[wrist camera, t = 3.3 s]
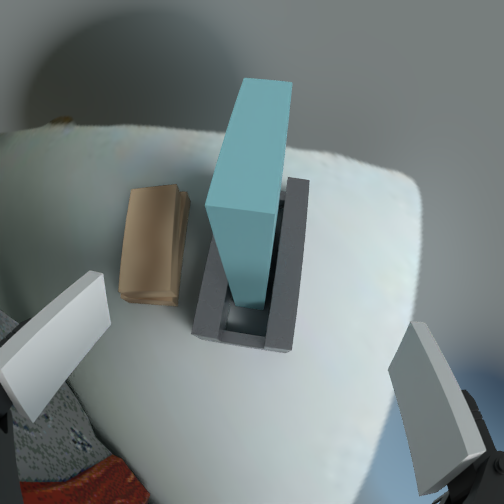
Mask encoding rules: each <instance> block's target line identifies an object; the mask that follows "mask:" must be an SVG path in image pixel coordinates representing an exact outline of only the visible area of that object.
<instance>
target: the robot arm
mask: <svg viewBox="0 0 504 504" xmlns="http://www.w3.org/2000/svg"><path fill="white" fill-rule="evenodd" d="M110 325H111V321H110V315H109V309H108V303H107V297H106V291H105V284H104V276H103V273H99V272H95V271H91V270H90V271H88V272H87V273H86V274H85V275H83V276H82V277H81V278H80V279H78V280H77V281H76V282H75V283H73V284H72V285H71V286H70V287H68V288H67V289H66V290H65V291H64V292H62V293H61V294H60V295H59V296H58V297H56V298H55V299H54V300H53V301H52V302H50V303H49V304H48V305H47V306H46V307H45V308H43V309H42V310H41V311H40V312H39V313H38V314H37V315H35V316H34V317H33V318H30V319H28V320H26V321H24V322H22V323H20V324H19V325H18V326H16V327H15V328H14V329H13V330H12V332H10V333H9V334H8V335H7V336H6V338H3V339H2V340H1V341H0V504H24V502H23V498H22V493H21V488H20V482H19V477H18V470H17V463H16V455H15V446H14V434H13V415H12V411H11V410H10V408H11V406H12V405H14V406H15V408H16V410H17V411H18V413H19V414H20V415H21V416H23V417H24V418H26V419H27V420H29V421H31V422H32V423H34V422H35V420H36V419H37V417H38V416H39V415H40V413H41V412H42V411H43V409H44V408H45V407H46V405H47V404H48V403H49V401H50V400H51V399H52V397H53V396H54V395H55V393H56V392H57V391H58V389H59V388H60V387H61V385H62V384H63V383H64V382H65V380H66V379H67V378H68V376H69V375H70V374H71V373H72V371H73V370H74V369H75V368H76V366H77V365H78V364H79V363H80V361H81V360H82V359H83V358H84V356H85V355H86V354H87V353H88V351H89V350H90V349H91V348H92V347H93V345H94V344H95V343H96V342H97V340H98V339H99V338H100V337H101V336H102V334H103V333H104V332H105V331H106V330H107V329H108V327H109V326H110ZM388 371H389V375H390V378H391V381H392V385H393V388H394V391H395V395H396V398H397V401H398V405H399V409H400V413H401V416H402V420H403V424H404V428H405V432H406V435H407V440H408V444H409V448H410V453H411V457H412V462H413V467H414V471H415V476H416V481H417V486H418V492H419V496H422V495H427V494H431V493H436V492H438V491H439V490H440V489H442V488H443V487H445V486H446V485H447V486H448V491H447V492H446V493H444V494H443V495H442V496H440V497H439V498H437V499H436V500H435V501H434V502H433V503H432V504H436V503H438V502H439V501H440V503H439V504H504V452H502V451H497V450H496V449H495V446H494V444H493V441H492V439H491V436H490V434H489V431H488V429H487V427H486V424H485V422H484V420H482V415H481V413H480V412H479V411H478V410H479V409H478V406H477V404H476V402H475V400H474V398H473V397H472V396H471V395H470V394H469V393H468V392H467V391H466V390H461V389H460V387H459V385H458V383H457V381H456V379H455V377H454V375H453V373H452V371H451V369H450V367H449V365H448V363H447V361H446V359H445V358H444V356H443V354H442V352H441V350H440V348H439V346H438V344H437V343H436V341H435V339H434V337H433V335H432V334H431V332H430V330H429V328H428V327H427V325H426V323H425V322H413V321H410V324H409V326H408V328H407V330H406V333H405V335H404V337H403V339H402V342H401V344H400V346H399V348H398V350H397V352H396V354H395V356H394V358H393V360H392V362H391V364H390V366H389V368H388Z"/></svg>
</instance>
